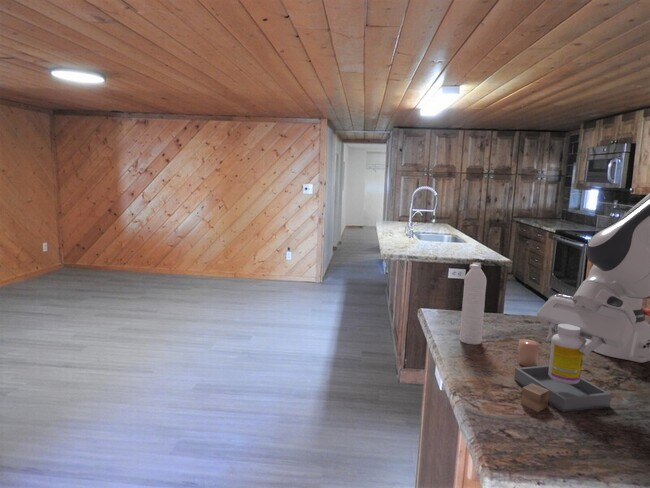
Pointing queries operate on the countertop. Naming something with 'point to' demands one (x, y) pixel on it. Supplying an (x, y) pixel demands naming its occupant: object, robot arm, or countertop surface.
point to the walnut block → (535, 397)
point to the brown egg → (528, 353)
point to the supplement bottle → (566, 355)
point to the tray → (564, 390)
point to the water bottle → (473, 305)
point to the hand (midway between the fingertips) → (565, 347)
